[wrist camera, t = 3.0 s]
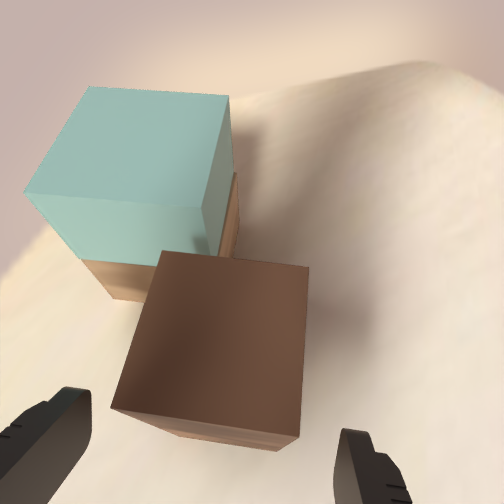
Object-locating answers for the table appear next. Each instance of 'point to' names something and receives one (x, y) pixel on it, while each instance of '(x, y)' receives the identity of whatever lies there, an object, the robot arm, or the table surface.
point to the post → (219, 351)
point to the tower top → (138, 175)
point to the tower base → (140, 276)
